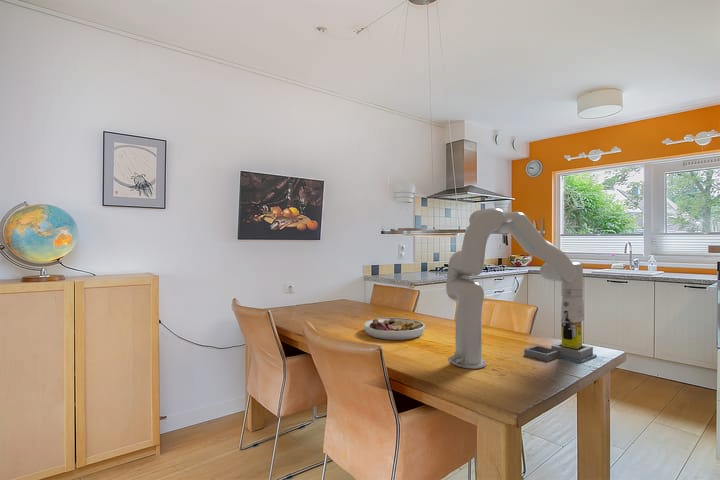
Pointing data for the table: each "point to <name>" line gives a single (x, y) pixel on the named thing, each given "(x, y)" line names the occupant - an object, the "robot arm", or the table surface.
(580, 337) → the supplement box
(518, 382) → the table surface
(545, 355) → the grey square tray
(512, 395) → the table surface
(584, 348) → the block
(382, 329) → the bowl
